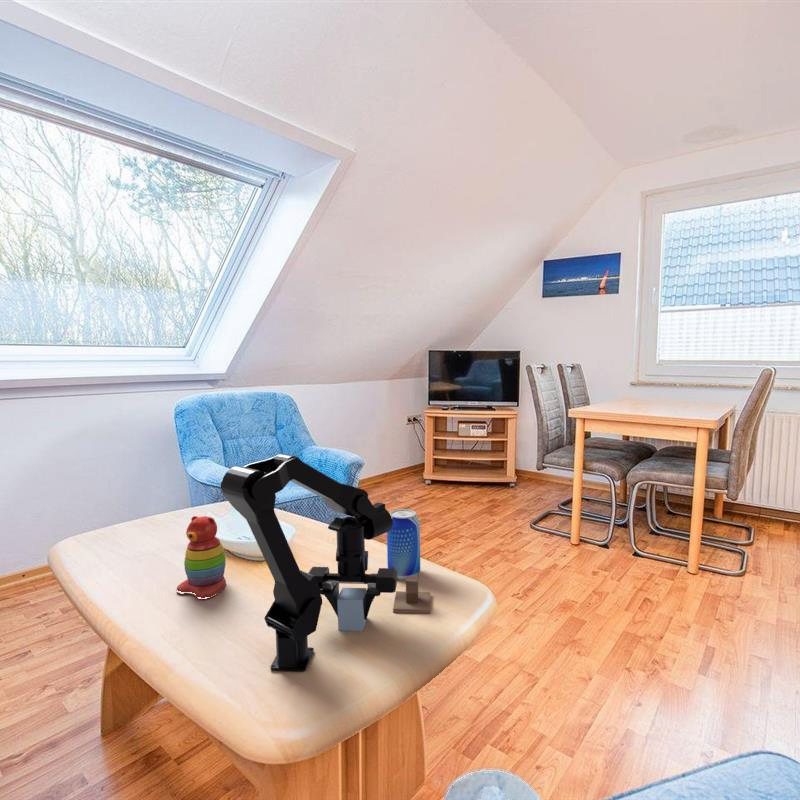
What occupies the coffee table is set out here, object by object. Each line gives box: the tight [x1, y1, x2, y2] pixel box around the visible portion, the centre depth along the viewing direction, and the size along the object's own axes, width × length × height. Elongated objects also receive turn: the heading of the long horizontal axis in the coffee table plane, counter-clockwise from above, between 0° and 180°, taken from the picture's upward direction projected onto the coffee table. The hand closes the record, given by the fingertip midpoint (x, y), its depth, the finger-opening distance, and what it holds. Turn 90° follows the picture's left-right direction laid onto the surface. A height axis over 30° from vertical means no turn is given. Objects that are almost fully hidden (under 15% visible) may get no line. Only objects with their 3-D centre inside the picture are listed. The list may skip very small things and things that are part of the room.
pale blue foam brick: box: [337, 587, 368, 632], centre depth 104 cm, size 5×5×7 cm
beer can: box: [386, 508, 421, 581], centre depth 127 cm, size 8×8×16 cm
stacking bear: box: [176, 515, 227, 598], centre depth 121 cm, size 11×10×18 cm
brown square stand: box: [392, 575, 431, 614], centre depth 112 cm, size 8×8×6 cm
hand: (352, 618), depth 104 cm, fingers closed on pale blue foam brick, 5 cm apart
